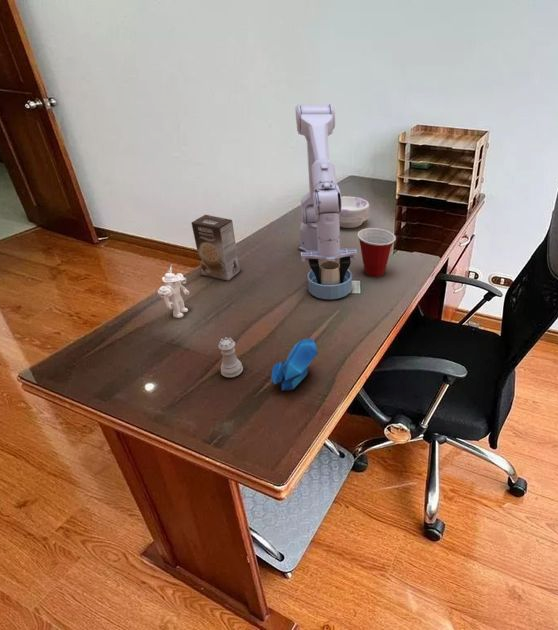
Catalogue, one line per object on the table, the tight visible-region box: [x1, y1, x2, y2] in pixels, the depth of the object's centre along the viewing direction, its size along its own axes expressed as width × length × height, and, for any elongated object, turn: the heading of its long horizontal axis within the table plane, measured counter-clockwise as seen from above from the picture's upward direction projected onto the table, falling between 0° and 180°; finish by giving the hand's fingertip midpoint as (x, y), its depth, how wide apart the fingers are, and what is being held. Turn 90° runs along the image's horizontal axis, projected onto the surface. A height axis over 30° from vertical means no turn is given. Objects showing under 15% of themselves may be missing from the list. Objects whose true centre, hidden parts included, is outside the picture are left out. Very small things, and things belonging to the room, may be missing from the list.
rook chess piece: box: [217, 336, 244, 379], centre depth 89 cm, size 4×4×8 cm
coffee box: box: [191, 214, 241, 281], centre depth 122 cm, size 9×6×16 cm
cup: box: [319, 260, 340, 285], centre depth 118 cm, size 6×6×7 cm
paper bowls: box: [338, 195, 370, 229], centre depth 158 cm, size 15×15×8 cm
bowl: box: [306, 269, 353, 300], centre depth 119 cm, size 12×12×4 cm
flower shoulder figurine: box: [157, 264, 190, 319], centre depth 105 cm, size 9×4×12 cm, turn 169°
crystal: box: [270, 338, 319, 391], centre depth 88 cm, size 7×9×12 cm
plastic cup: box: [357, 227, 396, 278], centre depth 126 cm, size 11×11×12 cm
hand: (330, 282), depth 119 cm, fingers closed on cup, 5 cm apart
